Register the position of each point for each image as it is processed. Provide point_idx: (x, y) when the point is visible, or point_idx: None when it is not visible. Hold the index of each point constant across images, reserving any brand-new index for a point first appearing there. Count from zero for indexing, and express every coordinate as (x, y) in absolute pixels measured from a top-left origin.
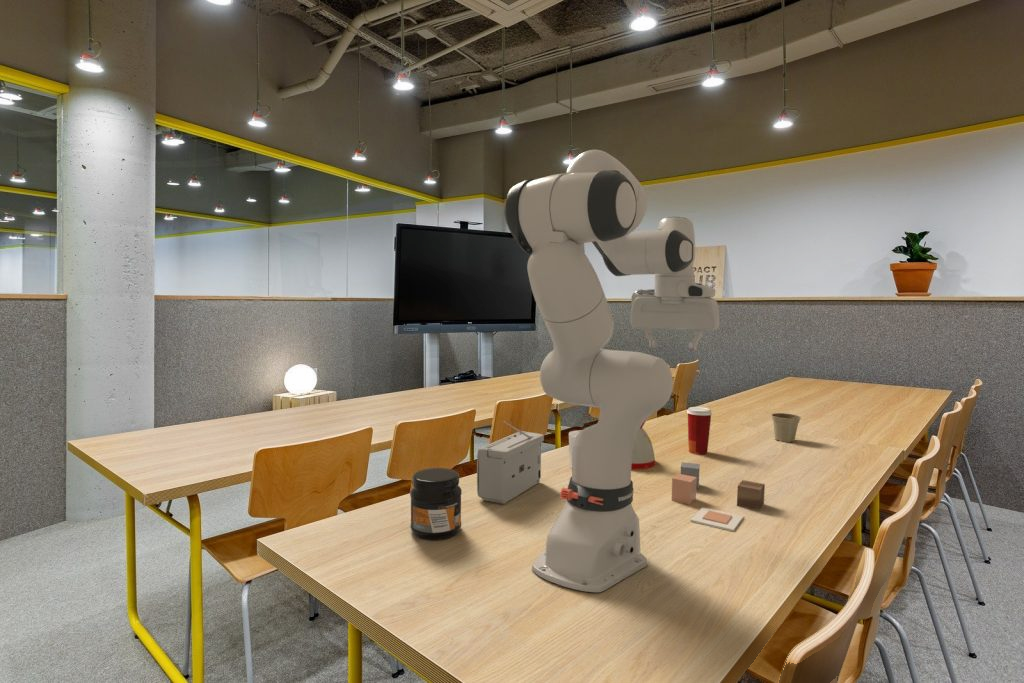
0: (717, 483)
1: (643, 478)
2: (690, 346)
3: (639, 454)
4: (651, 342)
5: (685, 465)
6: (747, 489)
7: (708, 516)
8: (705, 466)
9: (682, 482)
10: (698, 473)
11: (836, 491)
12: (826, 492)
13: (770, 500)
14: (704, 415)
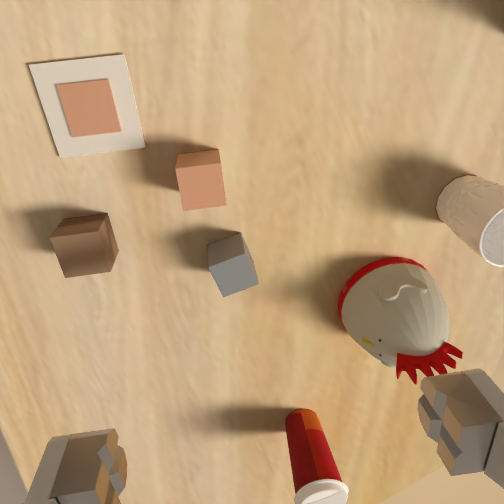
0: (196, 299)
1: (323, 230)
2: (84, 454)
3: (366, 294)
4: (482, 404)
5: (241, 268)
6: (77, 231)
7: (102, 95)
8: (256, 365)
9: (195, 164)
10: (208, 261)
11: (28, 392)
12: (36, 378)
13: (79, 282)
14: (303, 486)
